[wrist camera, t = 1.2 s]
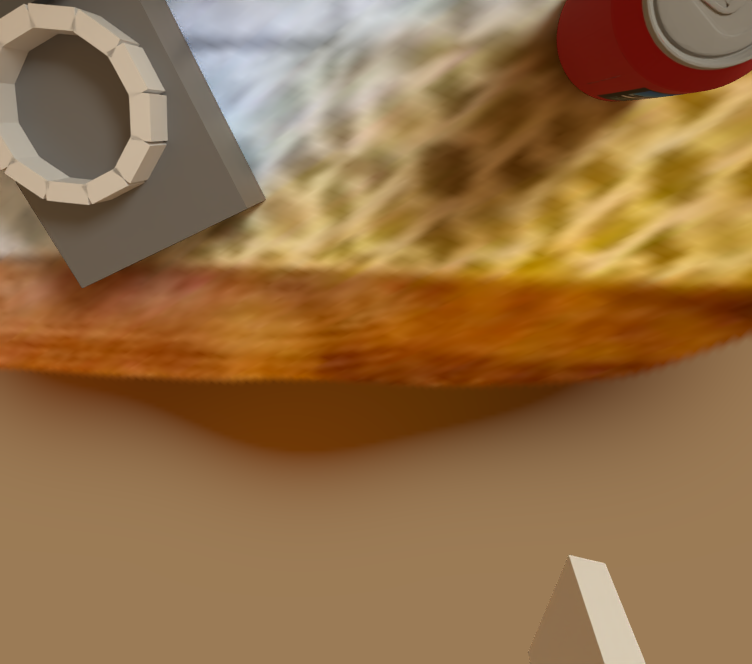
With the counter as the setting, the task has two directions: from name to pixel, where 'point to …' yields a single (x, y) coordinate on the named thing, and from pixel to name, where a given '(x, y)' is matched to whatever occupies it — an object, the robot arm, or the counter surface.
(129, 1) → the camera body
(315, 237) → the counter surface
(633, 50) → the beverage can
